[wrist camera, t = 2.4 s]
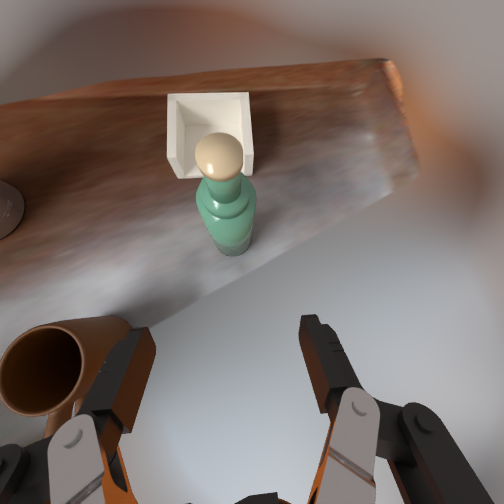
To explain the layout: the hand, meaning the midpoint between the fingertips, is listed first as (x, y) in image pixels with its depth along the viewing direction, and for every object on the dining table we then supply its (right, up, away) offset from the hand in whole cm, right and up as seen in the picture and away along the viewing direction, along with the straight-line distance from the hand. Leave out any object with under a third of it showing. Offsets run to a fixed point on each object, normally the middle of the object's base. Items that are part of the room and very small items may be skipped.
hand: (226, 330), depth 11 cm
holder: (-5, +20, +23) cm, 31 cm away
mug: (-17, -10, +16) cm, 25 cm away
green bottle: (-1, +6, +20) cm, 21 cm away
